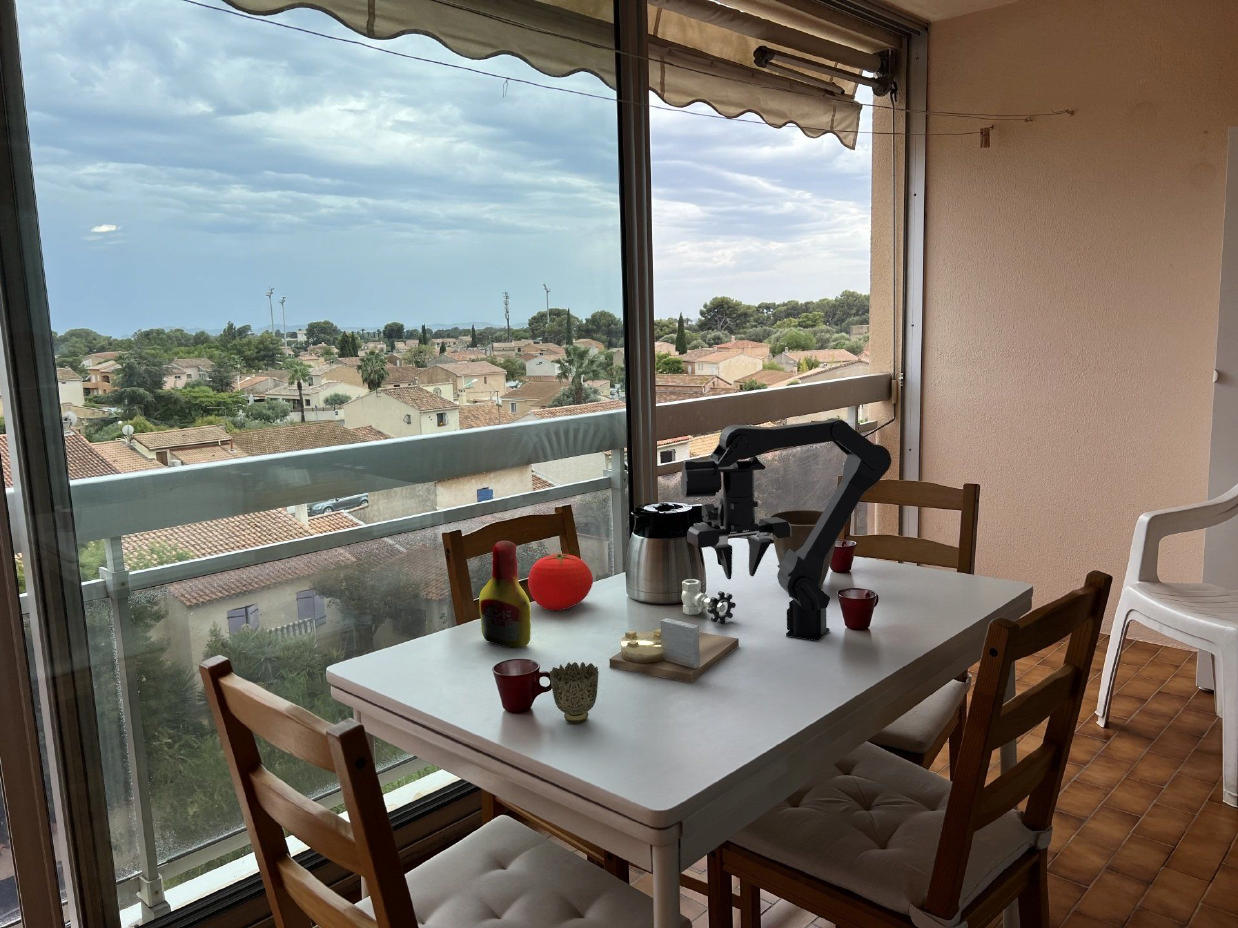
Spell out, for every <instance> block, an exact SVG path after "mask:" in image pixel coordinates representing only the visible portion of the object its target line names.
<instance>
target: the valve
mask: <svg viewBox="0 0 1238 928" xmlns="http://www.w3.org/2000/svg"><path fill="white" fill-rule="evenodd" d="M701 583H702V582H701V581H700V580H698V579H695V578H692V579H691V578H689V579H684V580H683V581H682V582H681V585H682V586H681V587H682V588H681V589H682V590H681V591H682V592H681V593H682V594H681V600H682V604H683V605H682V614H686V615H689V616H690V615H699V614H700V613H702V609H704V608H707V609H706V610H707V613H708V614H710V615H713V617H712V616H711V617H710V622H712V623H718V624H720V625H725V624H726V623H727V621H726V619H733V617H734V614H733V613H732V612H731V610H732V609H735V608H736V606H737V604H736V603H735V602H733V601H731V600H733V594H732V593H729V592H727V593H725V592H724V591H720V590H719V591H718V592H717V596H718V597H717V598H716V597H714V596H712V597H710V598H709V596H708V594H706V593H703V592H701V587H702V585H701ZM724 603H726V604H724ZM726 605H727V607H726ZM724 611H725V612H724ZM720 613H723V614H720Z"/></svg>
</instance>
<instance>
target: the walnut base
mask: <svg viewBox="0 0 1238 928" xmlns="http://www.w3.org/2000/svg"><path fill="white" fill-rule="evenodd" d="M657 629H661V626H660V627H658V628H657ZM654 631H655V630H653V631H652V632H654ZM739 646H740V640H739V638H738V637H732V636H724V635H719V634H714V633H709V632H708V633H707V632H702V631H701V632H700V631H699V650H700V666H698V667H696V668H690V667H687V666H683V665H680V664H676V663H672V662H669V661H665V660H662V661H658V662H651V663H639V662H632V661H629V660H626V659H625V658H623V657H622V655H621V651H620V652H618V653H617V654H614V655H613V656H612V657H610V658H609V662H608V663H609V668H613V669H618V670H624V671H628V672H633V673H639V674H644V675H649V676H654V677H660V678H663V679H670V680H674V681H678V682H679V681H681V682H685V683H689V684H692V683H694V681H695V680H697V679H699V678H700V677H701V676H702V675H703V674H705V673H706V672H707V671H708V670H710V669H712V667H714V666H715V665H716V664H718V663H719V662H720V661H722V660H723V659H724V658H726V657H727V656H728V655H730V653H732V652H734V651H735V650H736V649H737V648H739Z"/></svg>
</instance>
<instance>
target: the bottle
mask: <svg viewBox="0 0 1238 928" xmlns="http://www.w3.org/2000/svg"><path fill="white" fill-rule="evenodd" d="M517 546H518V545H517V544H516V543H514V542H512V541H510V540H500V541H497V542H496V543H495V544H494V545H493V548H492V572H491V578H490V579H489V580H488V582H487V583H486V585H484V586H483V588H481V591H480V593H479V596H478V600H479V603H478V605H479V616H480V624H481V628H480V629H481V633H482V636H483V638H484V640H485V641H486V642H489V643H493V644H496V645H499V646H503V647H506V648H512V649H517V648H522V647H525V646H527V645H529V643H530V642H531V634H532V633H531V631H532V630H531V629H532V624H531V619H532V617H531V613H532V610H531V609H532V608H531V603H530V599H529V597H528V595H527V594H526V591H524V589H523V587H522V586H521V585H520V583H519V573H518V558H517Z"/></svg>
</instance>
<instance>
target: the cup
mask: <svg viewBox="0 0 1238 928" xmlns="http://www.w3.org/2000/svg"><path fill="white" fill-rule="evenodd" d="M599 672H600V671H599V668H598V666H597V665H596V666H595V665H594V664H593V663H592V662H590V663H589V664H587V665H586V663H585V662H583V661H582V662H581V663H580V666H579V663H577V662H575V661H574V662H572V663H570V662H568V663H566V665H565V667H564V666H563V665H562V664H560V665H559V667H556V666H555V667H554V666H553V667H552V669H551V670H549V677H550V679H549V680H550V684H551V689H552V691H551V692H552V695H553V699H554V704H555V705H556V707H557V709H559V711H561V712H562V713H563V717H564V720H565V722H567V723H569V724H573V725H574V724H575V725H578V724H583V723H585V722H587V720H588V719H589V718H588V717H589V711H591V710H592V708H593V707H594V706H595V704H596V701H597V696H598V689H599V687H598V686H599Z"/></svg>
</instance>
